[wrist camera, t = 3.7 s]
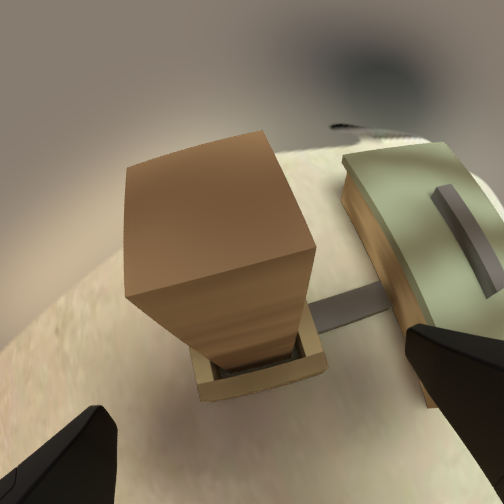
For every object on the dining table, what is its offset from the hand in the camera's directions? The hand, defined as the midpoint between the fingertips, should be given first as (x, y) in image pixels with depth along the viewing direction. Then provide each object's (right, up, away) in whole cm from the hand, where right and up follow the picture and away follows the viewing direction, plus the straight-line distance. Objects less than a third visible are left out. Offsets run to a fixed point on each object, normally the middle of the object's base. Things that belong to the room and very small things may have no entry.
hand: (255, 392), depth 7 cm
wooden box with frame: (+8, 0, +12) cm, 15 cm away
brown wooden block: (0, -2, +12) cm, 12 cm away
